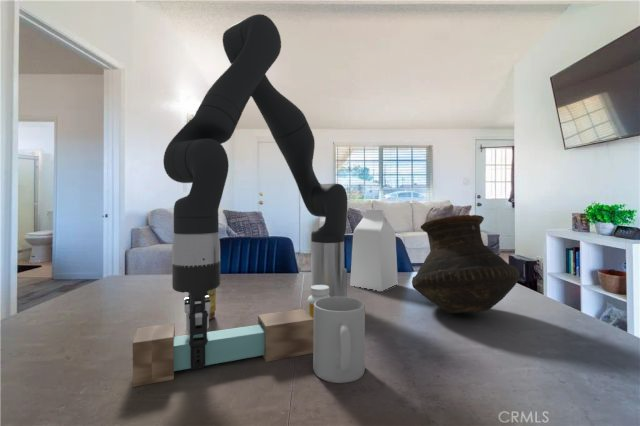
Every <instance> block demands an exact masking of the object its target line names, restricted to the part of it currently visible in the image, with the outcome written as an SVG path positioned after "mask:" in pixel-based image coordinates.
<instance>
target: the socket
mask: <svg viewBox="0 0 640 426" xmlns="http://www.w3.org/2000/svg"><path fill="white" fill-rule="evenodd" d="M175 325H176V324H175V323H166V324H159V325H150V326H142V327H138V328H137V331H136V333H135V335H134V338H133V341H132V388H134V387H140V386H146V385H150V384H157V383H161V382H166V381H172V380H174V378H175V371H174V337H176V334H175V333H176V332H175V331H176V330H175V329H176V327H175Z"/></svg>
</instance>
